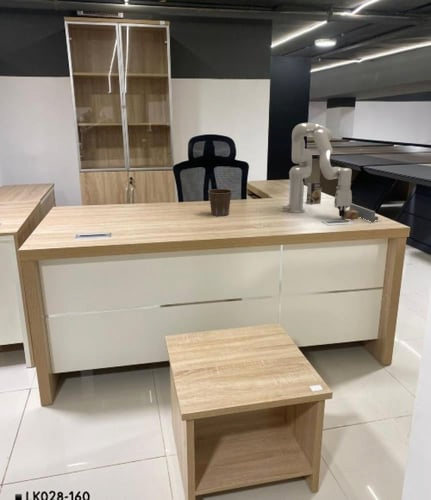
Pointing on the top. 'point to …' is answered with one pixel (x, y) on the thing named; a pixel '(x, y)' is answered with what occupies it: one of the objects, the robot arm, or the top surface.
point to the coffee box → (314, 193)
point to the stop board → (364, 212)
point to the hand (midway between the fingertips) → (341, 216)
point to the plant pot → (220, 201)
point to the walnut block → (350, 214)
